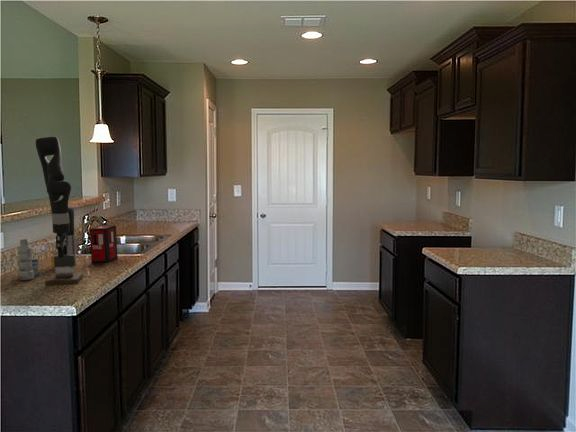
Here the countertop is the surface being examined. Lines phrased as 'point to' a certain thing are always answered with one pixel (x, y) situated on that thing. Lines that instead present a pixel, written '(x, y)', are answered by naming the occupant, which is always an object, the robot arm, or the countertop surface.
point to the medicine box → (35, 267)
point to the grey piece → (63, 265)
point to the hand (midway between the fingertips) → (62, 256)
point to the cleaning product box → (103, 244)
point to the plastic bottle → (25, 260)
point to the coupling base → (64, 279)
